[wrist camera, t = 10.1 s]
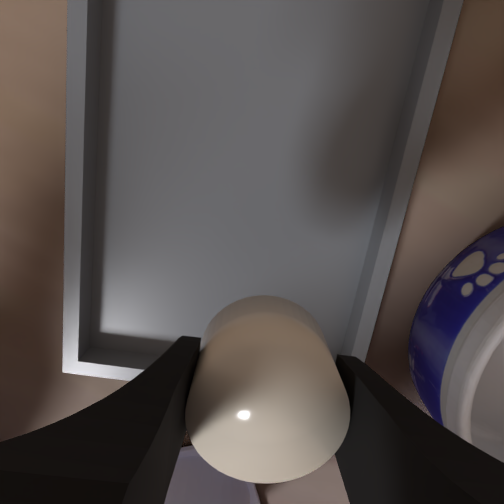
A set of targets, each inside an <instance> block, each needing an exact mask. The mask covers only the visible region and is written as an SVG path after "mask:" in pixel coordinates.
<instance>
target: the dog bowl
mask: <svg viewBox="0 0 504 504" xmlns="http://www.w3.org/2000/svg"><path fill="white" fill-rule="evenodd" d="M408 358H409V367H410V372H411V376H412V379H413V383H414V385H415V387H416V390H417V392H418V394H419V396H420V397H421V399H422V401H423V403H424V404H425V406H426V407H427V409H428V411H429V412H430V414H431V416H432V417H433V419H434V420H435V421H437V422H438V423H440V424H441V425H442V426H444V427H446V428H447V429H449V430H450V431H452V432H453V433H455V434H456V435H458V436H459V437H461V438H462V439H464V440H465V441H467V442H469V443H470V444H472V445H474V446H475V447H477V448H479V449H480V450H482V451H484V452H486V453H487V454H489V455H491V456H493V457H494V458H496V459H498V460H500V461H501V462H503V463H504V227H501V228H499V229H497V230H495V231H493V232H491V233H489V234H487V235H485V236H484V237H482V238H480V239H479V240H477V241H476V242H474V243H473V244H471V245H470V246H468V247H467V248H466V249H464V250H463V251H462V252H461V253H460V254H458V255H457V256H456V257H455V258H454V259H453V260H452V261H451V262H450V263H449V264H448V265H447V266H446V267H445V268H444V269H443V270H442V271H441V272H440V273H439V275H438V276H437V277H436V278H435V280H434V281H433V282H432V284H431V285H430V287H429V288H428V290H427V291H426V293H425V295H424V297H423V299H422V301H421V302H420V304H419V306H418V309H417V311H416V314H415V317H414V320H413V323H412V327H411V331H410V337H409V346H408Z"/></svg>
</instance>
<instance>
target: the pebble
mask: <svg viewBox="0 0 504 504" xmlns="http://www.w3.org/2000/svg"><path fill="white" fill-rule="evenodd" d="M185 422H186V428H187V432H188V435H189V438H190V440H191V442H192V444H193V446H194V447H195V449H196V450H197V452H198V453H199V454H200V456H201V457H202V458H203V459H204V460H205V461H206V462H207V463H209V464H210V465H211V466H212V467H214V468H215V469H217V470H218V471H220V472H222V473H224V474H226V475H228V476H230V477H233V478H235V479H239V480H242V481H246V482H253V483H279V482H286V481H290V480H293V479H297V478H300V477H302V476H305V475H307V474H309V473H311V472H313V471H315V470H316V469H318V468H319V467H321V466H322V465H323V464H324V463H326V462H327V461H328V460H329V459H330V458H331V457H332V456H333V455H334V454H335V453H336V451H337V450H338V449H339V447H340V446H341V444H342V442H343V440H344V438H345V436H346V433H347V430H348V427H349V422H350V404H349V399H348V396H347V392H346V390H345V387H344V385H343V382H342V380H341V377H340V375H339V372H338V370H337V367H336V365H335V362H334V360H333V357H332V355H331V352H330V350H329V348H328V345H327V343H326V340H325V338H324V335H323V333H322V330H321V328H320V326H319V324H318V323H317V321H316V320H315V319H314V317H313V316H312V315H311V314H310V313H309V312H308V311H307V310H305V309H304V308H303V307H301V306H300V305H298V304H297V303H294V302H292V301H290V300H288V299H285V298H281V297H276V296H268V295H260V296H251V297H246V298H243V299H240V300H237V301H235V302H233V303H231V304H229V305H228V306H226V307H225V308H223V309H222V310H221V311H220V312H218V313H217V314H216V315H215V316H214V318H213V319H212V320H211V321H210V323H209V324H208V326H207V328H206V330H205V332H204V335H203V338H202V341H201V345H200V352H199V356H198V360H197V364H196V368H195V372H194V375H193V379H192V383H191V386H190V390H189V394H188V398H187V403H186V409H185Z"/></svg>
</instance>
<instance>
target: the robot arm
mask: <svg viewBox="0 0 504 504" xmlns="http://www.w3.org/2000/svg"><path fill="white" fill-rule="evenodd" d="M200 343H201V338H200V337H191V336H183V335H182V336H181V337H179V338H178V339H177V340H176V341H175V342H174V343H173V344H172V345H171V346H170V347H169V348H168V349H167V350H166V351H165V352H164V353H163V354H162V355H161V356H160V357H159V358H158V359H157V360H155V361H154V362H153V363H152V364H151V365H150V366H149V367H148V368H146V369H145V370H144V371H143V372H141V373H140V374H139V375H137V376H136V377H135V378H134V379H132V380H131V381H130V382H128V383H127V384H126V385H124V386H123V387H121V388H120V389H118V390H117V391H115V392H114V393H112V394H110V395H109V396H107V397H105V398H104V399H102V400H100V401H98V402H96V403H94V404H92V405H91V406H89V407H87V408H85V409H83V410H81V411H79V412H77V413H75V414H73V415H71V416H69V417H66V418H64V419H62V420H60V421H57V422H55V423H53V424H50V425H48V426H45V427H43V428H40V429H38V430H35V431H32V432H30V433H27V434H24V435H21V436H18V437H15V438H12V439H9V440H6V441H3V442H0V504H261V503H260V500H259V497H258V493H257V490H256V486H255V483H253V482H246V481H242V480H239V479H235V478H233V477H230V476H228V475H226V474H224V473H222V472H220V471H218V470H217V469H215V468H214V467H212V466H211V465H210V464H209V463H207V462H206V461H205V460H204V459H203V458H202V457H201V456H200V454H199V453H198V452H197V450H196V449H195V447H194V446H193V445H192V446H187V447H182V448H181V446H182V443H183V440H184V437H185V433H186V430H187V428H186V422H185V409H186V403H187V398H188V394H189V390H190V386H191V383H192V379H193V375H194V372H195V368H196V364H197V360H198V356H199V352H200ZM335 365H336V367H337V370H338V372H339V375H340V377H341V380H342V382H343V385H344V387H345V390H346V392H347V396H348V399H349V404H350V422H349V427H348V430H347V433H346V436H345V438H344V440H343V442H342V444H341V446H340V447H339V449H338V450H337V451H336V453H335V456H336V460H337V463H338V466H339V469H340V473H341V476H342V479H343V482H344V486H345V489H346V492H347V495H348V499H349V502H350V504H504V463H503V462H501V461H500V460H498V459H496V458H494V457H493V456H491V455H489V454H487V453H486V452H484V451H482V450H480V449H479V448H477V447H475V446H474V445H472V444H470V443H469V442H467V441H465V440H464V439H462V438H461V437H459V436H458V435H456V434H455V433H453V432H452V431H450V430H449V429H447V428H446V427H444V426H442V425H441V424H440V423H438V422H437V421H435V420H434V419H433V418H431V417H430V416H428V415H427V414H426V413H424V412H423V411H422V410H421V409H419V408H418V407H417V406H415V405H414V404H413V403H411V402H410V401H409V400H408V399H406V398H405V397H404V396H403V395H401V394H400V393H399V392H398V391H397V390H395V389H394V388H393V387H392V386H391V385H389V384H388V383H387V382H386V381H385V380H384V379H382V378H381V377H380V376H379V375H378V374H377V373H375V372H374V371H373V370H372V369H371V368H370V367H368V366H367V365H366V364H365V363H364V362H362V361H361V360H360V359H358V358H357V357H355V356H347V355H339V354H337V358H336V362H335Z"/></svg>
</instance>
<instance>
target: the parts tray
mask: <svg viewBox="0 0 504 504" xmlns="http://www.w3.org/2000/svg"><path fill="white" fill-rule="evenodd" d="M463 1H464V0H68V6H67V79H66V152H65V225H64V298H63V370H62V372H64V373H71V374H79V375H87V376H95V377H103V378H111V379H119V380H127V381H131V380H132V379H134V378H135V377H136V376H137V375H139V374H140V373H141V372H143V371H144V370H145V369H146V368H148V367H149V366H150V365H151V364H152V363H153V362H154V361H155V360H157V359H158V358H159V357H160V356H161V355H162V354H163V353H164V352H165V351H166V350H167V349H168V348H169V347H170V346H171V345H172V344H173V343H174V342H175V341H176V340H177V339H178V338H179V337H181V336H182V335H183V336H191V337H200V338H201V341H202V338H203V335H204V332H205V330H206V328H207V326H208V324H209V323H210V321H211V320H212V319H213V318H214V316H215V315H216V314H217V313H218V312H220V311H221V310H222V309H223V308H225V307H226V306H228V305H229V304H231V303H233V302H235V301H237V300H240V299H243V298H246V297H251V296H260V295H268V296H276V297H281V298H285V299H288V300H290V301H292V302H294V303H297V304H298V305H300V306H301V307H303V308H304V309H305V310H307V311H308V312H309V313H310V314H311V315H312V316H313V317H314V319H315V320H316V321H317V323H318V324H319V326H320V328H321V330H322V333H323V335H324V338H325V340H326V343H327V345H328V348H329V350H330V352H331V355H332V357H333V360H334V362H336V358H337V354H339V355H347V356H355V357H357V358H358V359H360V360H361V361H362V362H364V363H365V359H366V355H367V352H368V348H369V344H370V341H371V337H372V333H373V330H374V326H375V323H376V319H377V315H378V312H379V308H380V304H381V301H382V297H383V293H384V290H385V286H386V282H387V279H388V275H389V271H390V268H391V264H392V260H393V257H394V253H395V249H396V246H397V242H398V238H399V235H400V231H401V228H402V224H403V220H404V217H405V213H406V209H407V206H408V202H409V198H410V195H411V191H412V187H413V184H414V180H415V176H416V173H417V169H418V165H419V162H420V158H421V154H422V151H423V147H424V143H425V140H426V136H427V133H428V129H429V125H430V122H431V118H432V114H433V111H434V107H435V103H436V100H437V96H438V92H439V89H440V85H441V81H442V78H443V74H444V70H445V67H446V63H447V59H448V56H449V52H450V48H451V45H452V41H453V38H454V34H455V30H456V27H457V23H458V19H459V16H460V12H461V8H462V5H463ZM200 345H201V343H200Z"/></svg>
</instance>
